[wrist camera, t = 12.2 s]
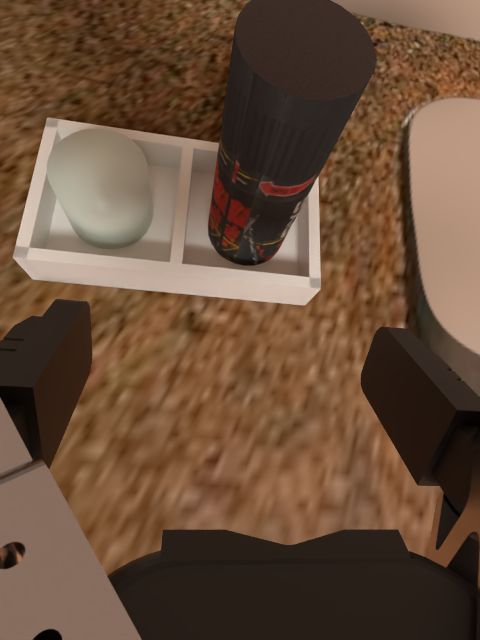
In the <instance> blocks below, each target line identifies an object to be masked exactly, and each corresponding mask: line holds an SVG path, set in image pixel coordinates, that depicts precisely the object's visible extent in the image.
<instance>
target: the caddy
mask: <svg viewBox="0 0 480 640" xmlns="http://www.w3.org/2000/svg"><path fill="white" fill-rule="evenodd" d="M218 148H219V143H215V142H208V141H202V140H195V139H188V138H181V137H175V136H168V135H161V134H155V133H148V132H141V131H135V130H128V129H121V128H115V127H108V126H101V125H94V124H88V123H81V122H74V121H68V120H61V119H54V118H48V117H47V121H46V125H45V129H44V133H43V137H42V141H41V145H40V149H39V153H38V157H37V161H36V165H35V169H34V173H33V177H32V181H31V185H30V189H29V193H28V198H27V202H26V206H25V210H24V214H23V218H22V222H21V226H20V230H19V234H18V238H17V242H16V246H15V250H14V254H13V258H14V259H15V261H16V262H17V263H18V264H19V265H20V266H21V267H22V268H23V269H24V270H25V271H26V272H27V274H28V275H29V276H30V277H31V278H32V279H33V280H43V281H54V282H64V283H75V284H85V285H96V286H106V287H117V288H127V289H138V290H148V291H159V292H169V293H179V294H190V295H200V296H211V297H221V298H232V299H242V300H253V301H263V302H274V303H284V304H295V305H306V304H307V303H308V302H309V301H310V300H311V299H312V298H313V297H314V295H315V294H316V293H317V292H318V291H319V290H320V289H321V279H320V232H319V185H318V177H317V179H316V181H315V183H314V185H313V187H312V189H311V191H310V192H309V194H308V196H307V198H306V200H305V202H304V204H303V205H302V207H301V209H300V211H299V213H298V215H297V217H296V219H295V220H294V222H293V224H292V226H291V228H290V230H289V232H288V234H287V235H286V237H285V239H284V241H283V243H282V245H281V247H280V248H279V250H278V252H277V253H276V254H275V255H274V256H273V257H272V258H271V259H270V260H268V261H266V262H264V263H262V264H258V265H254V266H243V265H239V264H235V263H232V262H230V261H228V260H226V259H225V258H223V257H222V256H221V255H220V254H219V253H218V252H217V251H216V250H215V248H214V247H213V245H212V244H211V241H210V239H209V236H208V220H209V213H210V206H211V199H212V191H213V184H214V177H215V170H216V162H217V155H218Z"/></svg>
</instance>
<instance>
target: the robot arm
mask: <svg viewBox="0 0 480 640" xmlns="http://www.w3.org/2000/svg"><path fill="white" fill-rule="evenodd" d="M91 363H92V339H91V318H90V306H89V303H88V302H87V301H75V300H63V299H56V300H55V301H54V302H53V303H52V305H51V306H50V307H49V308H48V310H47V311H46V312H45V314H44V315H43V316H42V317H38V316H31V317H29V318H28V319H26V320H24V321H22V322H20V323H18V324H16V325H14V326H13V328H12V329H11V330H10V331H9V332H8V333H7V335H6V336H5V337H4V340H1V341H0V640H480V397H479V396H478V395H477V394H476V393H475V392H474V391H473V390H472V389H471V388H470V387H469V386H468V385H467V384H466V383H465V382H464V381H461V378H460V377H459V376H458V375H457V374H456V373H455V372H454V371H452V369H451V368H450V367H449V366H448V365H447V364H446V363H445V362H444V360H443V359H442V358H441V357H439V356H438V355H436V354H434V353H433V352H431V351H430V350H428V349H427V348H426V347H425V346H424V345H423V344H422V342H421V341H420V340H419V339H418V338H417V337H416V336H415V335H414V334H413V333H412V332H411V331H410V330H408V329H403V328H391V327H380V328H379V329H378V330H377V331H376V333H375V335H374V338H373V341H372V344H371V347H370V349H369V352H368V355H367V358H366V361H365V364H364V366H363V369H362V373H361V387H362V390H363V393H364V394H365V396H366V398H367V400H368V401H369V403H370V405H371V406H372V408H373V410H374V412H375V413H376V415H377V417H378V418H379V420H380V422H381V424H382V425H383V427H384V429H385V430H386V432H387V434H388V436H389V437H390V439H391V441H392V442H393V444H394V446H395V448H396V449H397V451H398V453H399V454H400V456H401V458H402V460H403V461H404V463H405V465H406V466H407V468H408V470H409V472H410V473H411V475H412V477H413V478H414V480H415V482H416V484H417V485H419V486H440V487H441V489H442V492H441V493H440V495H439V497H438V499H437V502H436V507H435V513H434V519H433V525H432V531H431V537H430V543H429V548H428V554H427V558H426V557H423V556H421V555H418V554H415V553H413V552H410V551H408V549H407V547H406V545H405V543H404V541H403V539H402V537H401V535H400V533H399V531H398V530H342V531H338V532H335V533H332V534H328V535H325V536H322V537H318V538H315V539H312V540H308V541H305V542H302V543H298V544H295V545H283V544H279V543H275V542H271V541H267V540H263V539H259V538H255V537H251V536H247V535H244V534H240V533H236V532H232V531H228V530H163V535H162V547H161V551H158V552H154V553H151V554H148V555H145V556H143V557H140V558H138V559H136V560H133V561H131V562H129V563H127V564H126V565H124V566H122V567H120V568H118V569H117V570H115V571H114V572H112V573H111V574H109V575H108V576H107V575H106V573H105V571H104V570H103V568H102V566H101V564H100V562H99V561H98V559H97V557H96V555H95V553H94V551H93V550H92V548H91V546H90V544H89V542H88V540H87V539H86V537H85V535H84V533H83V531H82V529H81V528H80V526H79V524H78V522H77V520H76V518H75V517H74V515H73V513H72V511H71V509H70V507H69V506H68V504H67V502H66V500H65V498H64V496H63V495H62V493H61V491H60V489H59V487H58V486H57V484H56V482H55V480H54V478H53V476H52V475H51V473H50V471H49V468H50V466H51V464H52V461H53V459H54V457H55V454H56V452H57V449H58V447H59V445H60V442H61V440H62V438H63V435H64V433H65V431H66V428H67V426H68V424H69V421H70V419H71V416H72V414H73V412H74V409H75V407H76V405H77V402H78V400H79V398H80V395H81V393H82V390H83V388H84V386H85V383H86V381H87V379H88V376H89V373H90V369H91Z"/></svg>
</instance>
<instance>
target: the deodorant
mask: <svg viewBox="0 0 480 640" xmlns="http://www.w3.org/2000/svg"><path fill="white" fill-rule="evenodd" d="M375 61H376V54H375V50H374V45H373V42H372V40H371V38H370V36H369V34H368V33H367V31H366V29H365V28H364V27H363V25H362V24H361V23H360V22H359V21H358V20H357V19H356V18H355V16H353V15H352V14H351V13H349V12H348V11H347V10H346V9H344V8H343V7H342V6H340V5H338V4H336V3H334V2H332V1H330V0H252V1H250V2H249V3H247V4H246V5H245V7H244V8H243V10H242V11H241V12H240V14H239V15H238V19H237V22H236V26H235V31H234V39H233V46H232V53H231V61H230V68H229V75H228V82H227V90H226V97H225V104H224V111H223V119H222V126H221V133H220V140H219V148H218V155H217V162H216V170H215V177H214V184H213V191H212V199H211V206H210V213H209V220H208V236H209V239H210V241H211V244H212V245H213V247H214V248H215V250H216V251H217V252H218V253H219V254H220V255H221V256H222V257H223V258H225V259H226V260H228V261H230V262H232V263H235V264H239V265H243V266H254V265H258V264H262V263H264V262H266V261H268V260H270V259H271V258H272V257H273V256H274V255H275V254H276V253H277V252H278V250H279V248H280V247H281V245H282V243H283V241H284V239H285V237H286V235H287V234H288V232H289V230H290V228H291V226H292V224H293V222H294V220H295V219H296V217H297V215H298V213H299V211H300V209H301V207H302V205H303V204H304V202H305V200H306V198H307V196H308V194H309V192H310V191H311V189H312V187H313V185H314V183H315V181H316V179H317V177H318V176H319V174H320V172H321V170H322V168H323V166H324V164H325V162H326V161H327V159H328V157H329V155H330V153H331V151H332V149H333V148H334V146H335V144H336V142H337V140H338V138H339V136H340V134H341V133H342V131H343V129H344V127H345V125H346V123H347V121H348V119H349V118H350V116H351V114H352V112H353V110H354V108H355V106H356V105H357V103H358V101H359V99H360V97H361V95H362V93H363V91H364V90H365V88H366V86H367V84H368V82H369V80H370V78H371V76H372V74H373V72H374V70H375Z"/></svg>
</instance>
